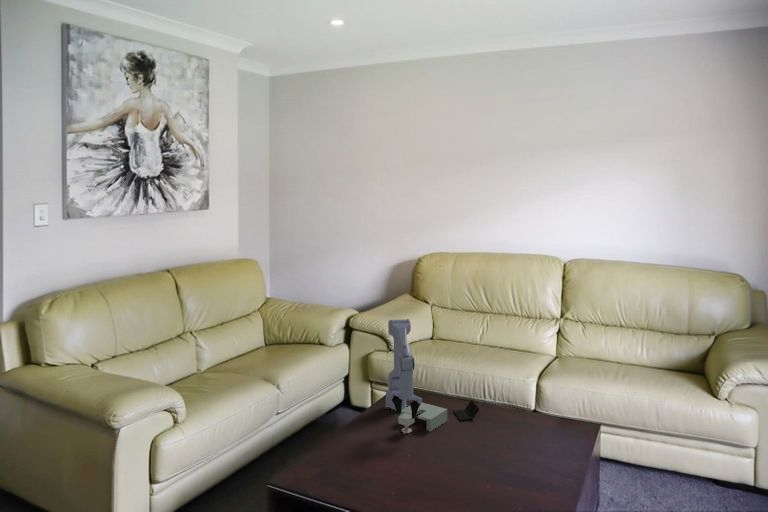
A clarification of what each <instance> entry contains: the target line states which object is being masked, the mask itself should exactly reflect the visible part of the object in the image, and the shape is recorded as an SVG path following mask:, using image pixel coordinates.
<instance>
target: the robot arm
mask: <svg viewBox="0 0 768 512" xmlns="http://www.w3.org/2000/svg"><path fill="white" fill-rule="evenodd" d="M411 324H412V323H411V320H410V319H409V318H407V319H389V320H388V322H387V327H388V335H389V336H390V337H392V339H393V369H392V370H391V371H390V372H388V374H387V375H388V376H387V390H386V393H385V407H390V408H392V409H395V410H396V411H397V412H396V411H395V412H396V415H399V416H400V414H401V411H402V410H403V409H404V408H406V406H407V400H408V401H410V403H409V406H411V411H412V419H414V418H415V419H416V418H417V416H416V414H417V411H418V408H419V406H420V404H421V403H423V398H422V397H420V396H418V395H416V394H414V370H415V367H416V366H415V365H416V364H415V358H414V356H413V354H412V350H411V349H412V348H411V346H410V344H409V343H408V338H407V337H408V336H407V335H409V334H410V332H411V328H412V326H411Z"/></svg>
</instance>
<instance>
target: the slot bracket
mask: <svg viewBox="0 0 768 512" xmlns="http://www.w3.org/2000/svg"><path fill="white" fill-rule="evenodd" d="M407 406H408V407H406V408H404V409H403V410H402V411H401V414H399V416H401V415H402V414H404V413H407V414H410V415H412V411H411V406H410V405H407ZM419 413H421V414H420V415H418V416H417V419H420V420H422V421H423V420H424V421H426V431H427V430H429V431H428V432H430V431H431V432H432V431H434V430H435V428H436V429H437V428H439V427H440V426H442V425H443V424H445V423H447V422H448V408H444V407H440V406H437V405H433V404H430V403H429V404H428V403H425V402H422V403H421V404H420V406H419V408H418V411H417V414H419ZM417 414H416V415H417ZM446 421H447V422H446ZM441 424H442V425H441ZM438 426H439V427H438ZM433 429H434V430H433Z"/></svg>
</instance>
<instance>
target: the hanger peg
mask: <svg viewBox="0 0 768 512" xmlns="http://www.w3.org/2000/svg"><path fill="white" fill-rule="evenodd" d="M415 419H416V418H414V419H412V415H410V414H407V413H404V414H402V415H401V416H400V415H399V416H397V421H398V424H399V425H402V426H404V427H403V428H401V430H400V431H402V432H403V433H410V432H413V431H412V430H413V429H412V428H409V426H411V425H413V424H414V423H415V422H416V420H415Z"/></svg>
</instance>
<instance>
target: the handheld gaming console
mask: <svg viewBox="0 0 768 512" xmlns="http://www.w3.org/2000/svg"><path fill="white" fill-rule="evenodd" d="M479 411H480V407H478V405H477V404H476V403H475V401H473V400H470V401H469V402H468V404H467V405H466V407H465V408H464V409H459V410H458V409H457V410H453V411H452V412H454V413H453V415H454V416H455V417H456V416H457V417H456V418H457V420H459V422H471V420H472V421H473V419H474V418H475V417H476V415H477V413H478V412H479Z"/></svg>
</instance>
